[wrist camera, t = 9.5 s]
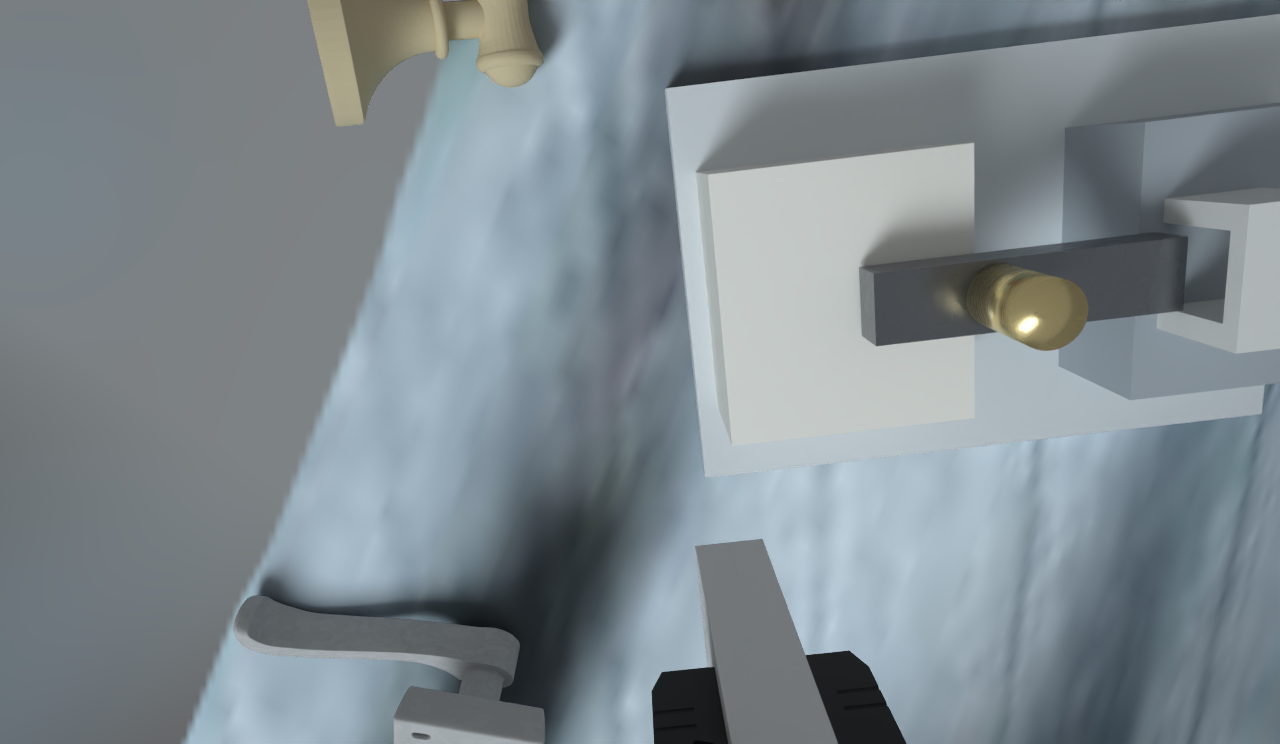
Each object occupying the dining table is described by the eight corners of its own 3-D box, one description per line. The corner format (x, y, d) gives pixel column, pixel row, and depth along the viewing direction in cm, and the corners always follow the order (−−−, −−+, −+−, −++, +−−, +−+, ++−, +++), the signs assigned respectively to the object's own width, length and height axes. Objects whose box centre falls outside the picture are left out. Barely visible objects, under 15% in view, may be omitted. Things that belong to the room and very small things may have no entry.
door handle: (525, 722, 55) (569, 584, 41) (502, 852, 49) (544, 745, 35) (271, 679, 53) (226, 520, 39) (216, 809, 47) (140, 678, 33)
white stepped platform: (1240, 405, 43) (1468, 496, 31) (702, 467, 43) (730, 579, 32) (1276, 16, 38) (1567, -48, 26) (664, 91, 38) (681, 60, 27)
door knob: (540, -112, 32) (569, 94, 34) (507, -54, 39) (533, 112, 41) (284, -106, 29) (332, 118, 31) (300, -45, 36) (339, 133, 38)
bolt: (1151, 301, 33) (1260, 331, 28) (861, 335, 34) (910, 372, 28) (1155, 231, 33) (1269, 247, 27) (858, 267, 33) (909, 289, 27)
